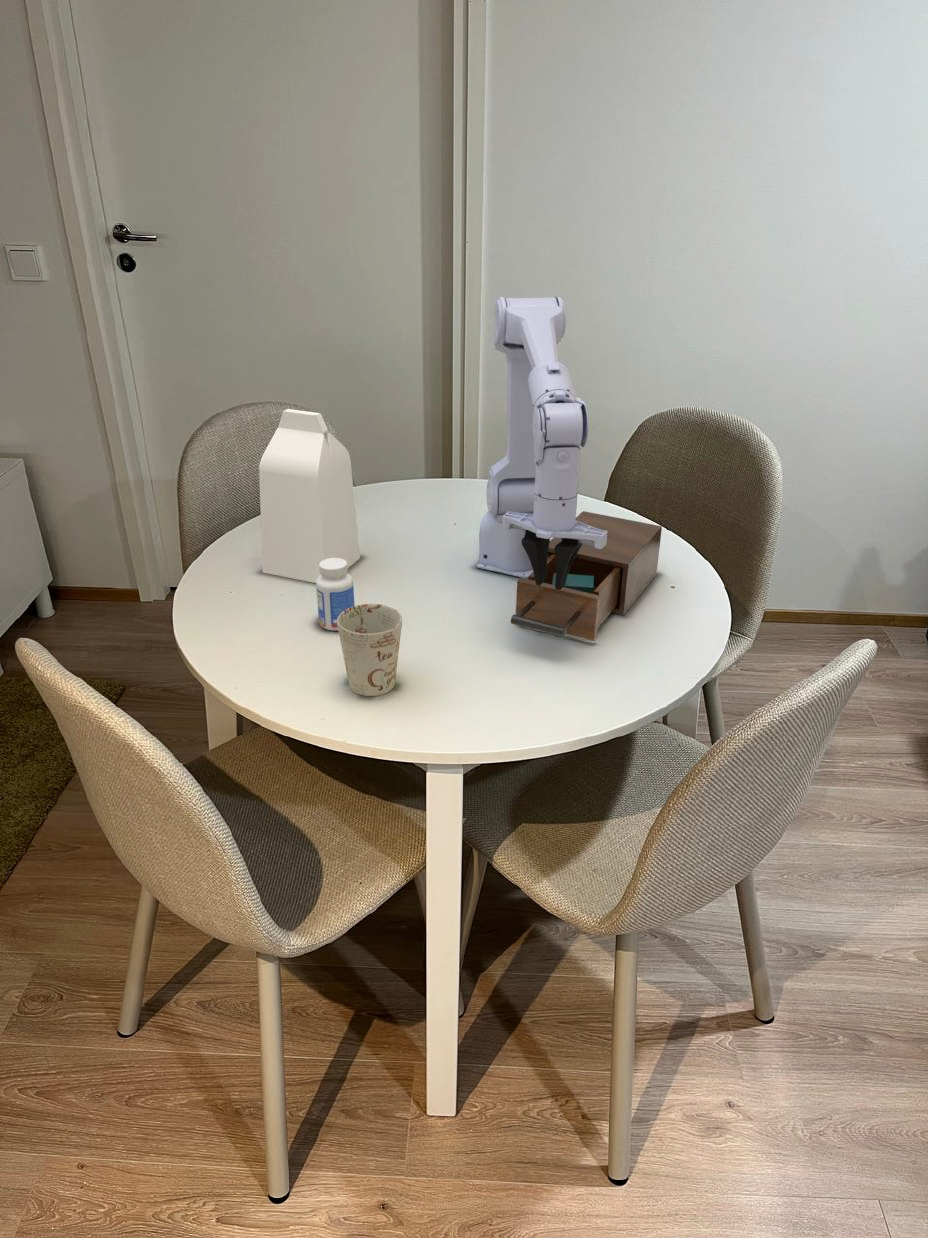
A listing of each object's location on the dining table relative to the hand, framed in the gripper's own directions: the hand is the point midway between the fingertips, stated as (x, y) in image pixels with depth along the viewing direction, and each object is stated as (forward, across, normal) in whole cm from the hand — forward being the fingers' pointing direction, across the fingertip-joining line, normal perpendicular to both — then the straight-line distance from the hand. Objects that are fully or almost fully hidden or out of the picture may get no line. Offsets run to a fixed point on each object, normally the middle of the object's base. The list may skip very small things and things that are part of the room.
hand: (550, 584), depth 136 cm
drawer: (+9, 0, +7) cm, 11 cm away
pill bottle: (+10, -30, -9) cm, 33 cm away
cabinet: (+10, 0, +22) cm, 24 cm away
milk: (+10, -45, +6) cm, 46 cm away
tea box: (+8, 0, +9) cm, 12 cm away
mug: (+10, -18, -20) cm, 29 cm away
